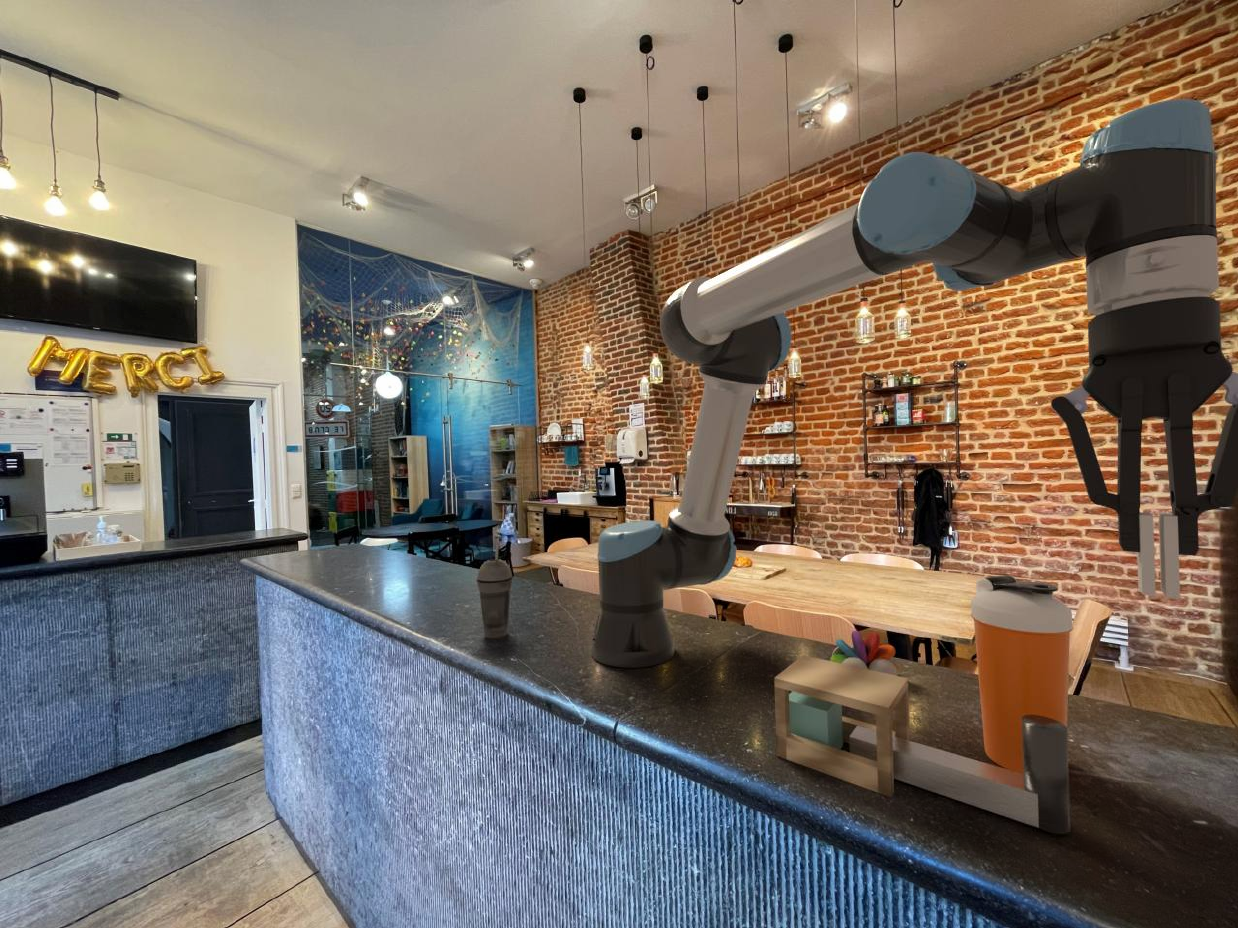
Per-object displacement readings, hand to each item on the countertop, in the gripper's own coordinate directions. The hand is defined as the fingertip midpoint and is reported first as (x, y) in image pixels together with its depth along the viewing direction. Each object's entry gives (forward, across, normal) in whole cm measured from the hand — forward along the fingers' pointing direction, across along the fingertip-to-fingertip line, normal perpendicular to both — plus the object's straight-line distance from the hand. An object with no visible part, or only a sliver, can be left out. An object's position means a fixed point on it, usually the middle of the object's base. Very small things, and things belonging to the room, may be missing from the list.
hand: (1158, 592), depth 42 cm
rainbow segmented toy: (+23, -30, +24) cm, 45 cm away
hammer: (+22, -16, 0) cm, 27 cm away
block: (+23, -29, 0) cm, 36 cm away
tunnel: (+22, -26, 0) cm, 34 cm away
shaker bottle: (+23, -10, +11) cm, 27 cm away
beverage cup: (+23, -94, +2) cm, 97 cm away
